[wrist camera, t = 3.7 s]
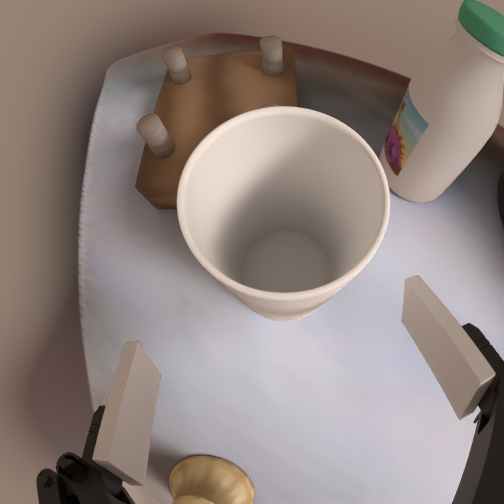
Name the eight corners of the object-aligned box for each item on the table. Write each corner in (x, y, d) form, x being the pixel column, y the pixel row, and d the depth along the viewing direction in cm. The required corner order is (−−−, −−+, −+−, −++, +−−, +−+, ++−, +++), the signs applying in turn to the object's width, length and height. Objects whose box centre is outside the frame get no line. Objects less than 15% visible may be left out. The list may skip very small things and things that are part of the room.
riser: (294, 81, 32) (292, 22, 24) (299, 207, 28) (302, 153, 19) (182, 88, 34) (160, 36, 25) (156, 209, 29) (113, 165, 21)
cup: (223, 254, 27) (150, 157, 12) (303, 214, 28) (317, 83, 12) (264, 338, 25) (230, 342, 10) (349, 293, 25) (430, 231, 10)
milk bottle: (450, 167, 27) (541, 37, 8) (428, 220, 26) (553, 84, 7) (393, 130, 29) (448, -24, 10) (364, 177, 28) (429, -2, 9)
